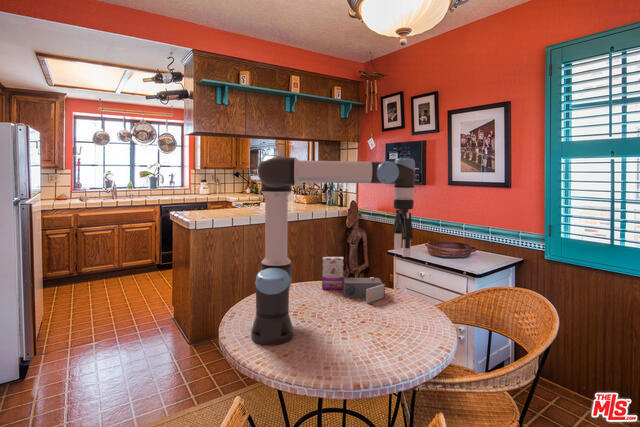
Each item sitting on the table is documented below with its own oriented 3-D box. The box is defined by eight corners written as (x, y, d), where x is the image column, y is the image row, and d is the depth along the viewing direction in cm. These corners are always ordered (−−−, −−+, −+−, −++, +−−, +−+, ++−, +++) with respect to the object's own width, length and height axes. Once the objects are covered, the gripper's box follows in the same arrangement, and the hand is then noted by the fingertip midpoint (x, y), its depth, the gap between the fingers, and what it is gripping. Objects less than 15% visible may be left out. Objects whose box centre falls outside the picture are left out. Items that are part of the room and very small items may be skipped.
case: (345, 298, 170) (345, 282, 169) (343, 291, 181) (343, 276, 180) (382, 298, 171) (383, 282, 170) (378, 291, 181) (379, 276, 180)
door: (368, 304, 162) (369, 289, 162) (365, 302, 164) (365, 288, 163) (386, 298, 171) (387, 284, 170) (383, 297, 172) (383, 283, 171)
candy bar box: (343, 287, 187) (344, 256, 186) (343, 290, 182) (344, 258, 181) (322, 286, 188) (322, 256, 186) (321, 289, 183) (322, 258, 181)
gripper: (423, 200, 126) (420, 260, 128) (405, 197, 151) (403, 246, 153) (402, 200, 126) (400, 259, 128) (387, 196, 151) (385, 246, 153)
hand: (401, 252), depth 140 cm, fingers open, 13 cm apart
